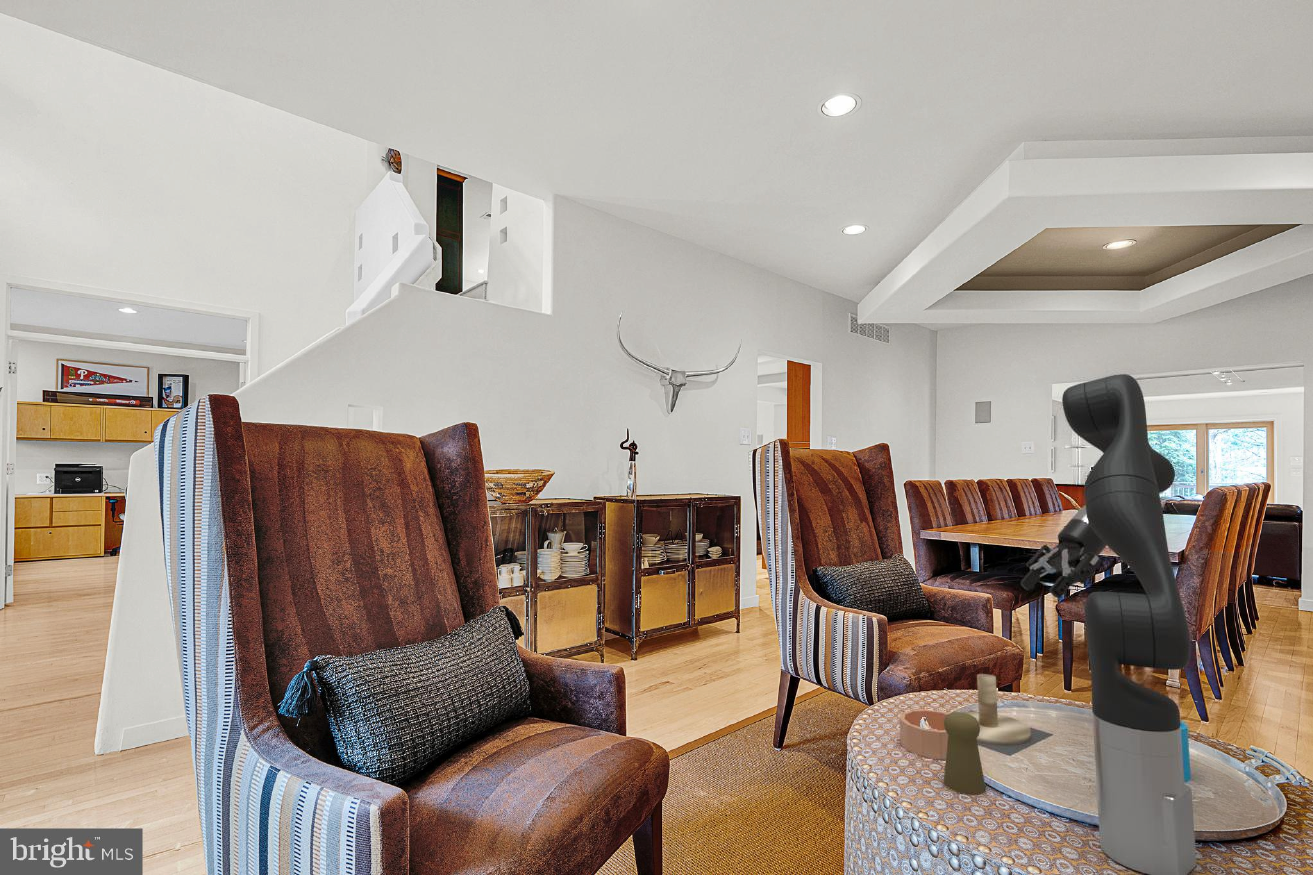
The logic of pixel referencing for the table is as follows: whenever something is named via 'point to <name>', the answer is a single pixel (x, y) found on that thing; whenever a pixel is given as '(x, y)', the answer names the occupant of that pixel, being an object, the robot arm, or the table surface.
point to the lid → (996, 718)
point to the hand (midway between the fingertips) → (1038, 590)
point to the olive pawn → (963, 754)
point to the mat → (1010, 750)
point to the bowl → (924, 733)
